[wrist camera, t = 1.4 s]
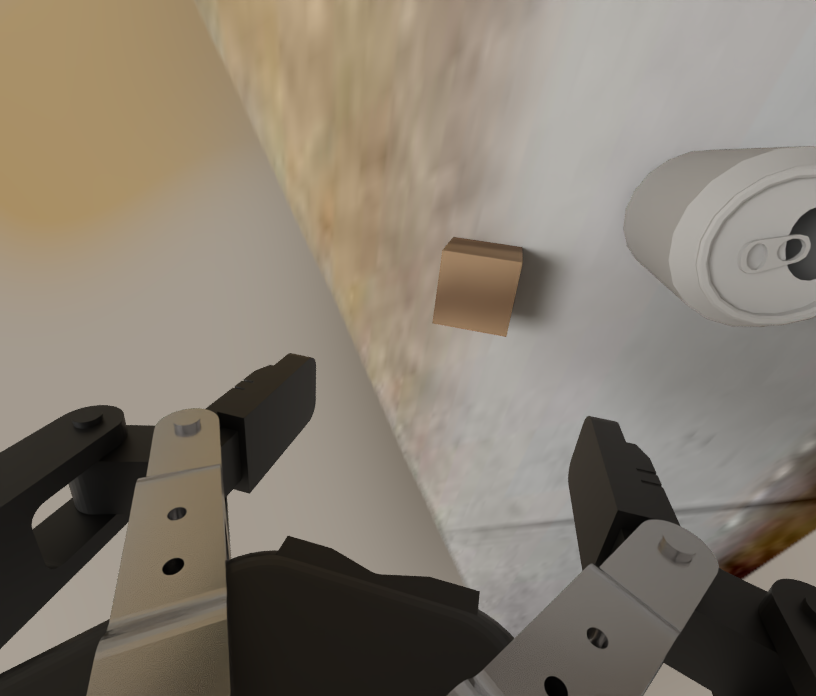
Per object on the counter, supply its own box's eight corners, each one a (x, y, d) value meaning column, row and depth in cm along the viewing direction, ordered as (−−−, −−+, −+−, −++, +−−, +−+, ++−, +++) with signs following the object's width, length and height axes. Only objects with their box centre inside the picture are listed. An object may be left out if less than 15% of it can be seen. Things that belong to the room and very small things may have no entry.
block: (453, 236, 31) (442, 250, 26) (522, 246, 30) (522, 262, 26) (444, 301, 33) (432, 323, 29) (508, 312, 32) (506, 336, 28)
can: (751, 262, 27) (900, 330, 16) (622, 280, 29) (680, 351, 19) (759, 135, 24) (945, 118, 14) (617, 166, 27) (682, 173, 16)
